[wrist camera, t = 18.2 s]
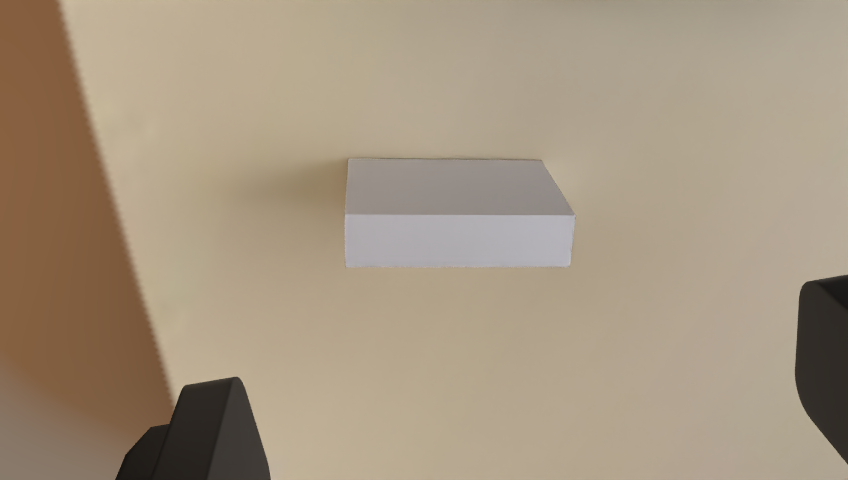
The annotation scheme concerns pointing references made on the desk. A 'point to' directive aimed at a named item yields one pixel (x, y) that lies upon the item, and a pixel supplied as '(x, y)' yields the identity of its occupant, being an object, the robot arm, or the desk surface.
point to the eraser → (455, 214)
